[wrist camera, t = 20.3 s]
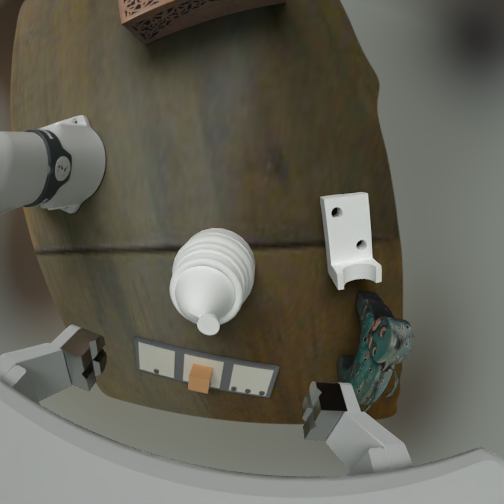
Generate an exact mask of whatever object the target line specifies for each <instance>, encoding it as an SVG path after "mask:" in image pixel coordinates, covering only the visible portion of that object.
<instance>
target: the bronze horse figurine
mask: <svg viewBox="0 0 504 504" xmlns="http://www.w3.org/2000/svg"><path fill="white" fill-rule="evenodd" d="M355 304H356V307H357V311H358V314H359V318H360V327H361V335H360V343H359V347H358V351H357V354H356V356H355V358H354V356H352V355H342V356H340V357H339V359H338V362H337V369H338V376H339V383H350V384H351V385H352V387H353V390H354V393H355V396H356V399H357V401H358V404H359V405H364V404H369V405H368V406H367V407H366V408H365V409H364V410H361V412H366V411H367V410H368V409H369V408H370V406H371V405H372V404H373V402H374V401H376V400H377V399H378V397H379V396H380V395H381V394H382V392H383V391H384V389H385V388H386V386H387V384H388V382H389V380H390V378H391V375H392V372H394V374H395V385H394V388H393V390H392V391H391V392H390V393H389V394H386V397H389V396H391V395H393V394H394V392H395V391H396V389H397V386H398V383H399V378H398V375H397V373H396V371H395V370H394V366H395V365H396V364H398V363H401V362H403V361H404V360H405V359H406V358H407V357H408V356H409V354H410V353H411V350H412V347H413V341H414V333H413V330H412V327H411V325H410V324H409V322H407V321H406V320H403V319H397V318H394V316H393V315H392V313H391V311H390V309H389V308H388V307H387V306H386V305H385V304H384V303H383V301H382V300H381V298H380V297H379V296H378V295H377V294H376V293H374V292H368V291H359V292H358V295H357V299H356V303H355Z"/></svg>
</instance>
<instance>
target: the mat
mask: <svg viewBox="0 0 504 504" xmlns="http://www.w3.org/2000/svg"><path fill="white" fill-rule="evenodd" d="M134 342H135V359H136V369H137V370H140V371H144V372H147V373H150V374H154V375H158V376H161V377H165V378H169V379H173V380H177V381H181V382H185V383H189V374H190V371H191V369H192V366H193V363H195V364H199V365H204V366H208V367H213V369H212V376H211V382H210V386H209V388H212V389H217V390H222V391H228V392H233V393H239V394H246V395H252V396H259V397H266V398H270V395H271V392H272V389H273V386H274V383H275V380H276V377H277V374H278V371H279V366H275V365H268V364H261V363H255V362H249V361H243V360H237V359H232V358H227V357H221V356H216V355H211V354H207V353H202V352H197V351H193V350H188V349H184V348H180V347H176V346H172V345H168V344H164V343H160V342H156V341H152V340H149V339H145V338H141V337H138V336H135V338H134Z"/></svg>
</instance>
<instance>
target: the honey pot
mask: <svg viewBox="0 0 504 504" xmlns="http://www.w3.org/2000/svg"><path fill="white" fill-rule="evenodd" d="M172 274H173V276H172V278H171V282H170V296H171V299H172V302H173V304H174V306H175V307H176V309H177V310H178V312H179V313H180V314H181V315H182V316H184V317H185V318H186V319H188V320H189V321H191V322H193V323H196V324H197V326H198V329H199V330H200V331H201V332H202V333H203V334H206V335H214V334H216V333H217V332H218V331H219V328H220V325H221V324H223V323H226V322H228V321H229V320H231V319H232V318H233V317H235V315H236V314H237V313H238V311H239V310H240V308H241V305H242V303H243V302H244V301H245V300H246V298H247V297H248V295H249V294H250V292H251V290H252V287H253V284H254V275H255V260H254V255H253V252H252V251H251V249H250V247H249V245H248V244H247V243H246V242H245V241H244V240H243V238H242V237H240V236H239V235H237V234H235V233H234V232H232V231H229V230H225V229H219V228H211V229H207V230H203V231H201V232H199V233H197V234H195V235H194V236H193V237H192V238H191V239H190V240H189V241H188V242H187V243H186V244H185V245H184V246H183V247H182V248H181V249H180V250H179V252H178V253H177V255H176V257H175V259H174V264H173V268H172Z"/></svg>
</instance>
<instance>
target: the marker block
mask: <svg viewBox="0 0 504 504" xmlns="http://www.w3.org/2000/svg"><path fill="white" fill-rule="evenodd" d="M212 369H213V367H208V366H204V365H199V364H195V363H193V366H192V369H191V371H190V374H189V383H188V390H193V391H197V392H202V393H207V394H208V390H209V386H210V382H211V376H212Z"/></svg>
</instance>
